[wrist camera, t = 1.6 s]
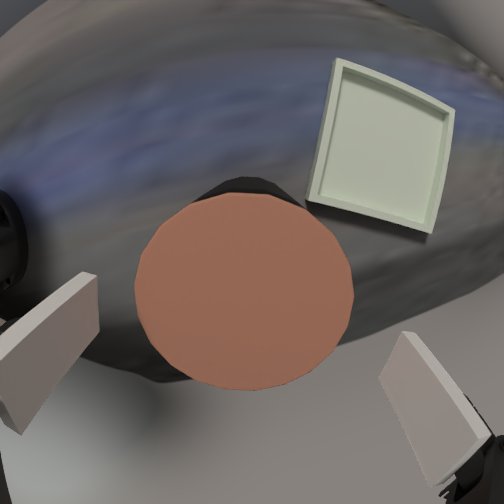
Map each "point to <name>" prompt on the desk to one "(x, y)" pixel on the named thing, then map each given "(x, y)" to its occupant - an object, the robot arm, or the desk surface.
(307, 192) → the sage tray
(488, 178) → the desk surface
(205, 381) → the coffee jar
